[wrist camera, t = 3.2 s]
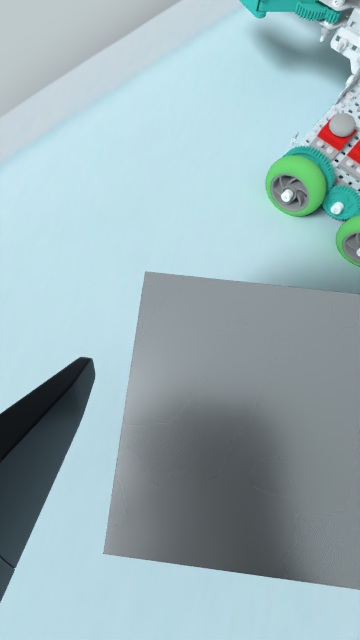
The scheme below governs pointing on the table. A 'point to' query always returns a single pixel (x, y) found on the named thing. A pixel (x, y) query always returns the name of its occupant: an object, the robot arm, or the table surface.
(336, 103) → the robot kit
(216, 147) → the table surface
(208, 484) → the grey stepped cuboid
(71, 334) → the table surface
